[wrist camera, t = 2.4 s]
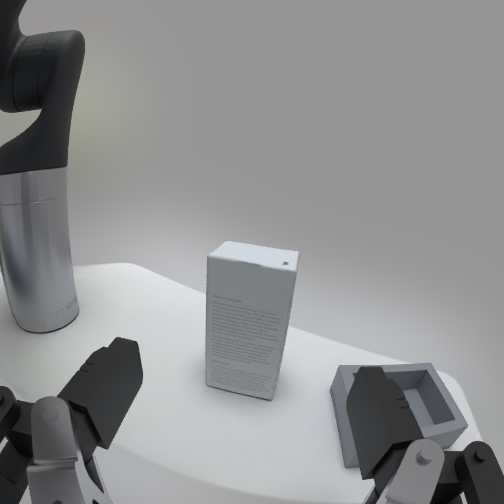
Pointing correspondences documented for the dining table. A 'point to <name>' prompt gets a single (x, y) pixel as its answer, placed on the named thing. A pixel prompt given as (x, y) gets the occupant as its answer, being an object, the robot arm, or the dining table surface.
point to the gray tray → (418, 396)
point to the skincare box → (248, 316)
